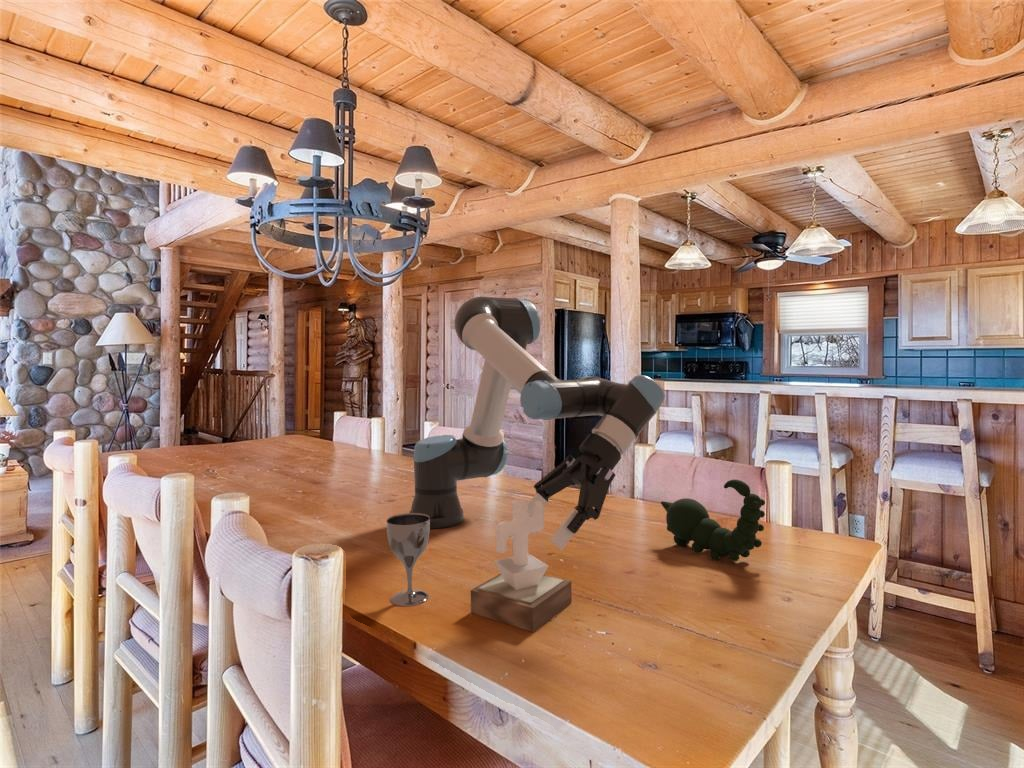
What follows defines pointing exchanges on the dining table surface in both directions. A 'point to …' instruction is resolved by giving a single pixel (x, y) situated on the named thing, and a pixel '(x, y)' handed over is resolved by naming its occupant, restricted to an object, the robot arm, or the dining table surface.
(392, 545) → the wine glass
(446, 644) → the dining table surface
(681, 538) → the toy figurine
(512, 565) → the figurine
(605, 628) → the dining table surface
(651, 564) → the dining table surface
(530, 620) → the walnut pedestal
